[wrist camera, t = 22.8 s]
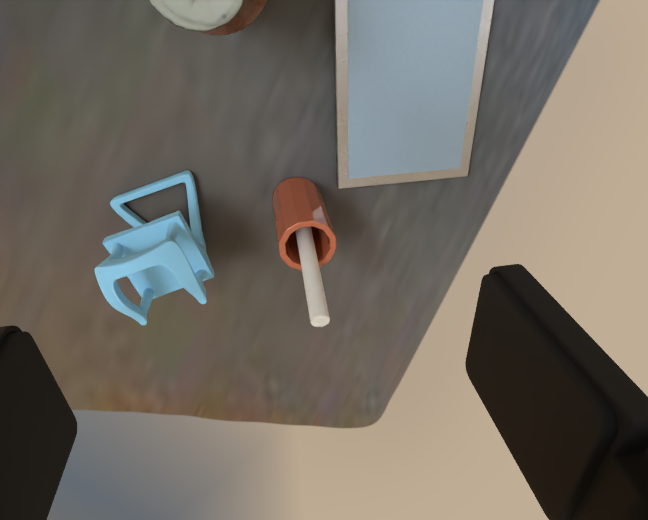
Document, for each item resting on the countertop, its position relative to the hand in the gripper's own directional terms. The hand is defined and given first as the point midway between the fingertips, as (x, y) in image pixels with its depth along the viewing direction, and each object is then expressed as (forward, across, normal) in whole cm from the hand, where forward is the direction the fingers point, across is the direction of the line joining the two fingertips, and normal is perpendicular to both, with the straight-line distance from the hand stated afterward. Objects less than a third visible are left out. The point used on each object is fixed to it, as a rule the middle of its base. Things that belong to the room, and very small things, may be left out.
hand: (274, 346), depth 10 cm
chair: (+32, +9, +13) cm, 36 cm away
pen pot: (+32, -3, +12) cm, 35 cm away
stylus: (+32, -3, +11) cm, 34 cm away
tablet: (+32, -14, +1) cm, 35 cm away
